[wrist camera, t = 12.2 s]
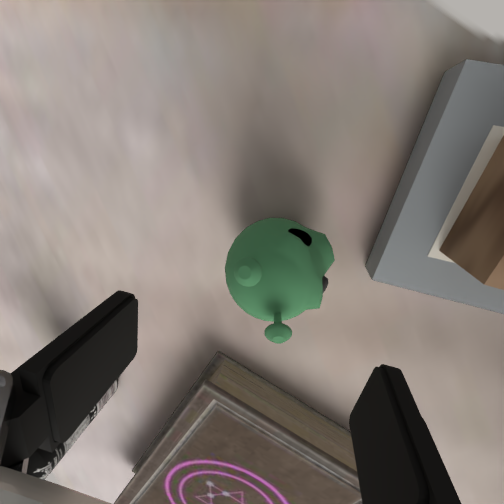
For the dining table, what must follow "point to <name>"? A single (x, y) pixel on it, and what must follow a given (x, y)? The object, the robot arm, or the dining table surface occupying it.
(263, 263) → the alien toy
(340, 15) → the dining table surface
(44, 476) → the beverage can
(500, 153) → the walnut block
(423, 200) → the board
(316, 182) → the dining table surface
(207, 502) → the book
